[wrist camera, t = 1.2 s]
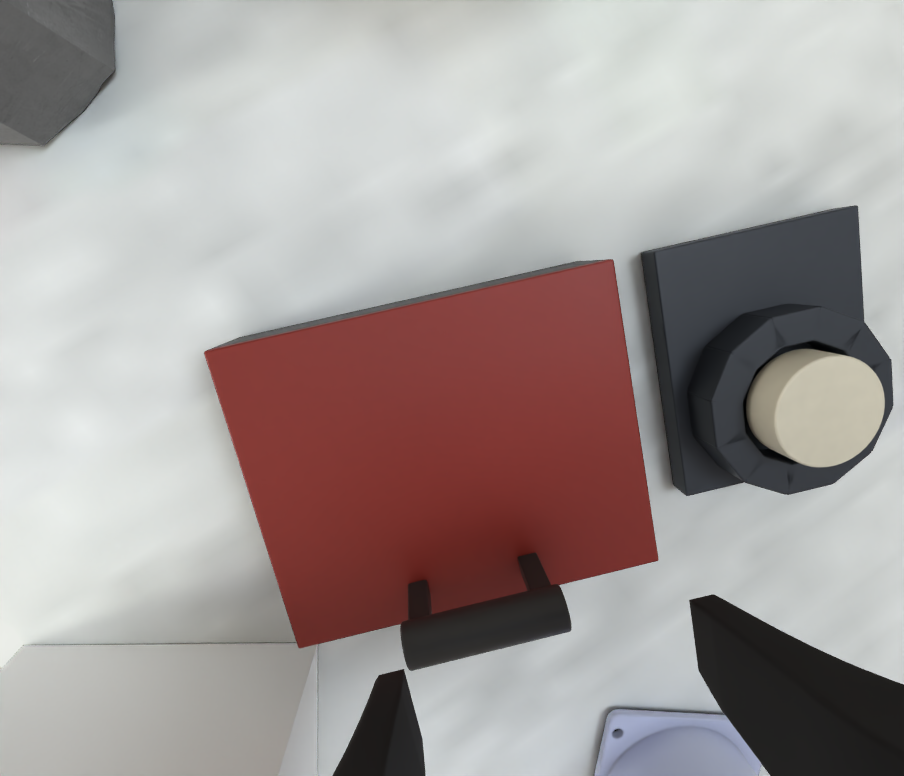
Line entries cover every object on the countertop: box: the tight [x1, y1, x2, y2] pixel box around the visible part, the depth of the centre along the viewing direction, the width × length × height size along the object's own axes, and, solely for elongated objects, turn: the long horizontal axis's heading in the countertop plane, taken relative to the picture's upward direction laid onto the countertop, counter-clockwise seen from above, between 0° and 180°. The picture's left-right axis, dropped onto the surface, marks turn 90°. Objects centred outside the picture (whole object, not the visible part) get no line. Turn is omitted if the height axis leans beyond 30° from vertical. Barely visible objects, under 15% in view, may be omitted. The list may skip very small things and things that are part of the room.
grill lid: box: [204, 259, 658, 671], centre depth 17 cm, size 11×13×4 cm
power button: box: [746, 349, 885, 467], centre depth 20 cm, size 4×4×2 cm
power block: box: [642, 206, 893, 496], centre depth 22 cm, size 10×8×3 cm
